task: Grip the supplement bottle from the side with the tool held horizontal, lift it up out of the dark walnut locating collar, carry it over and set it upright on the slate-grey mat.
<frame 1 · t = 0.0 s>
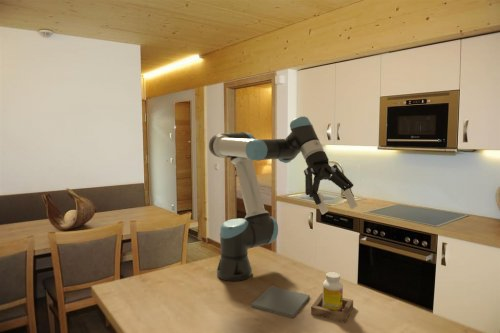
hand: (340, 210, 116), 36 cm above the table, tool tilted 35°, fingers open, 13 cm apart
supplement bottle: (332, 310, 122), resting in locating collar
slate mat: (281, 301, 128), on the table
locating collar: (332, 310, 122), on the table
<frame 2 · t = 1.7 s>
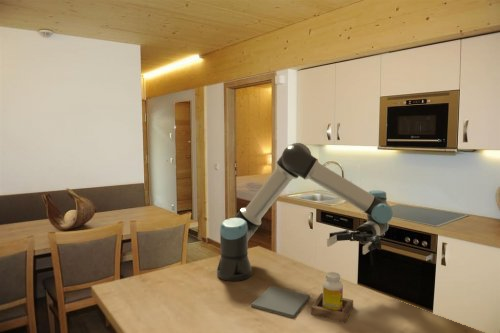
hand: (345, 246, 127), 20 cm above the table, tool horizontal, fingers open, 13 cm apart
nothing on the table moved.
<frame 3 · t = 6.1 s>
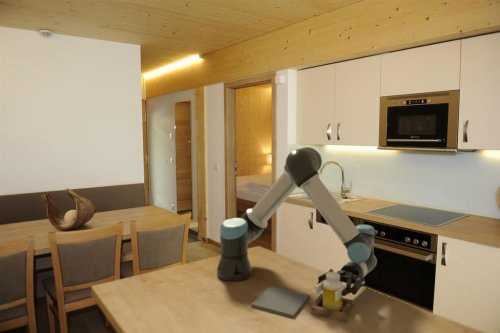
hand: (326, 293, 117), 8 cm above the table, tool horizontal, fingers closed on supplement bottle, 7 cm apart
supplement bottle: (332, 310, 122), resting in locating collar, touching gripper
when the fingers open (10 cm above the table, at t = 11.4 s): supplement bottle drops 1 cm, resting on slate mat.
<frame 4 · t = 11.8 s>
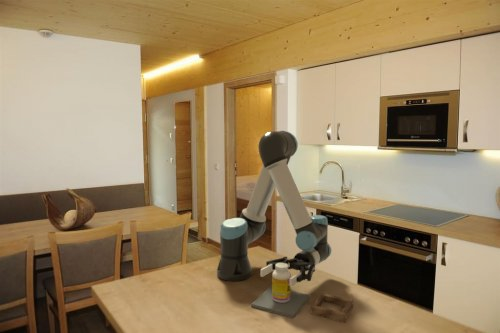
hand: (275, 277, 124), 10 cm above the table, tool horizontal, fingers open, 12 cm apart
supplement bottle: (281, 299, 128), point 1 cm above the table, touching slate mat
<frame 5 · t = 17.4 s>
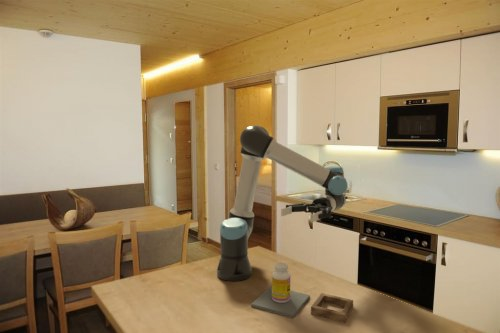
hand: (296, 215, 133), 30 cm above the table, tool horizontal, fingers open, 13 cm apart
nothing on the table moved.
at the end: supplement bottle inside the target area (0.1 cm from its centre), point 0.8 cm above the table; supplement bottle tilted 0°; the gripper is holding nothing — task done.
